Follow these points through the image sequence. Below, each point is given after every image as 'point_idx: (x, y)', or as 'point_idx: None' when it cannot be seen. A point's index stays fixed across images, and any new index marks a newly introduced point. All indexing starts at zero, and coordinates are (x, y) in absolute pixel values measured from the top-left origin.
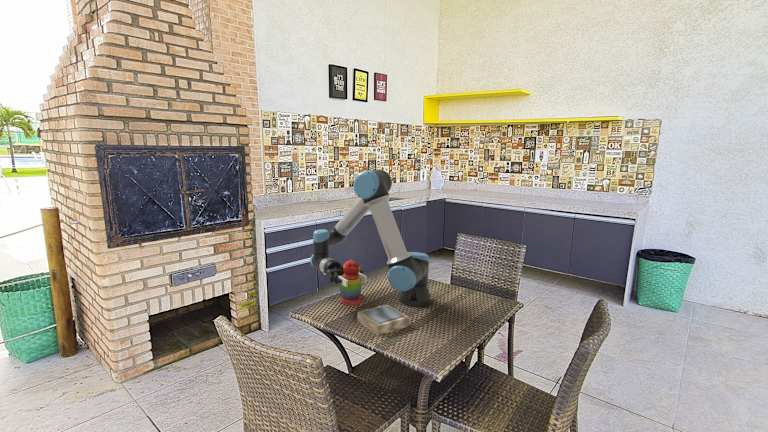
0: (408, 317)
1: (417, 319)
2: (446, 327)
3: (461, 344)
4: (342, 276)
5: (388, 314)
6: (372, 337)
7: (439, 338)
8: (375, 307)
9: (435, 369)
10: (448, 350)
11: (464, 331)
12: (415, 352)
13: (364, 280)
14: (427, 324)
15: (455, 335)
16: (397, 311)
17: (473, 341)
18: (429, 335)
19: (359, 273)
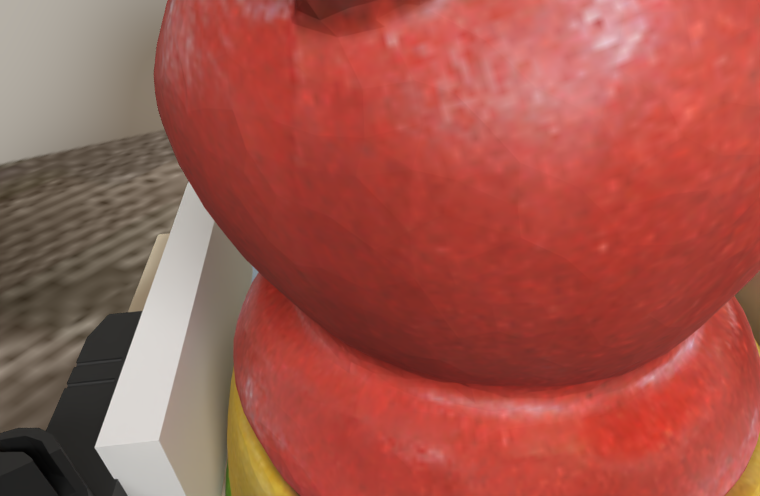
0: (163, 236)
1: (43, 333)
2: (33, 229)
3: (143, 146)
4: (753, 336)
5: (252, 276)
6: None
7: (166, 183)
8: None
9: None
10: None
11: (19, 192)
12: None
13: (241, 263)
14: (69, 273)
15: (87, 182)
16: (143, 308)
17: (86, 148)
18: (176, 205)
19: (178, 337)
